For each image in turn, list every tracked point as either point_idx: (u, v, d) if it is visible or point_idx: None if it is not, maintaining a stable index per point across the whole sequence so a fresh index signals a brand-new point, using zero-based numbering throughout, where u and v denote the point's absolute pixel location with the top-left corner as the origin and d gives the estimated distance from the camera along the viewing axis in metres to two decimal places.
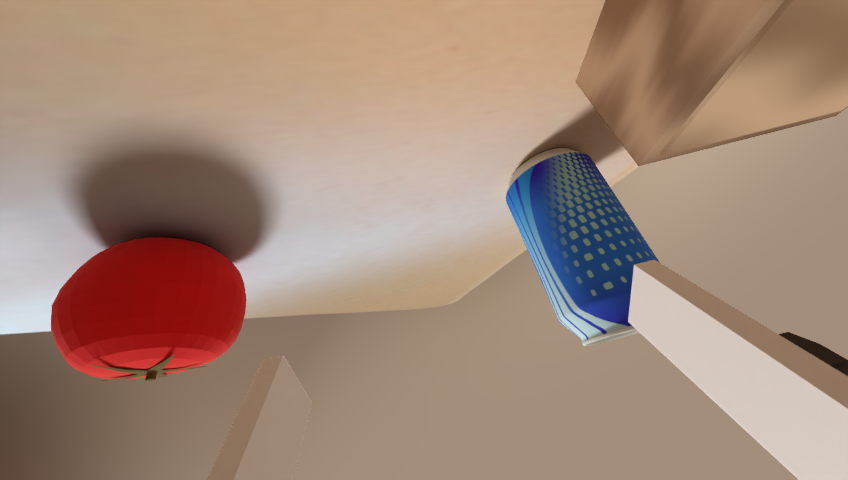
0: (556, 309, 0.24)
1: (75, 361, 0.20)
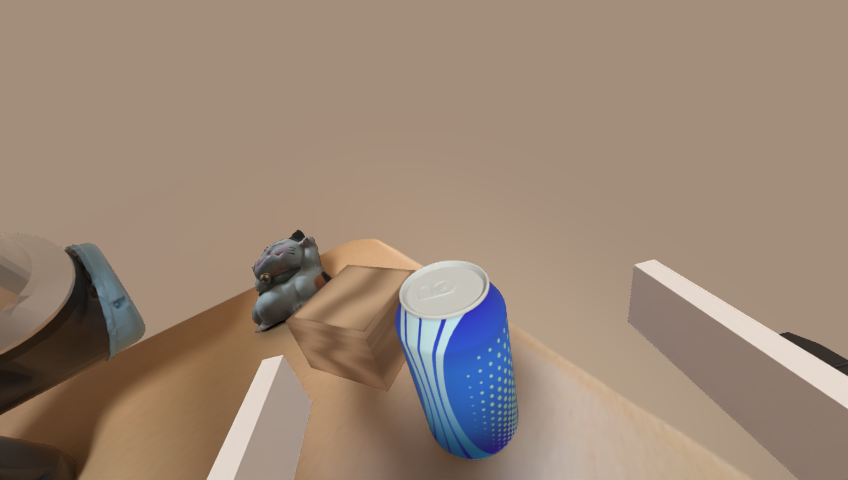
0: (430, 360, 0.20)
1: None
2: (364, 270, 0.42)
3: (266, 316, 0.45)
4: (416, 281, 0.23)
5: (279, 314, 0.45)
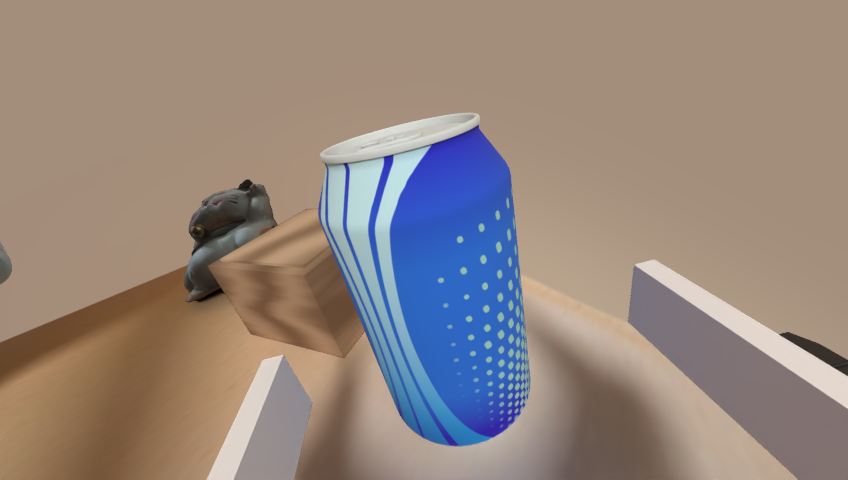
0: (368, 248, 0.10)
1: None
2: None
3: (197, 278, 0.35)
4: (359, 145, 0.14)
5: None
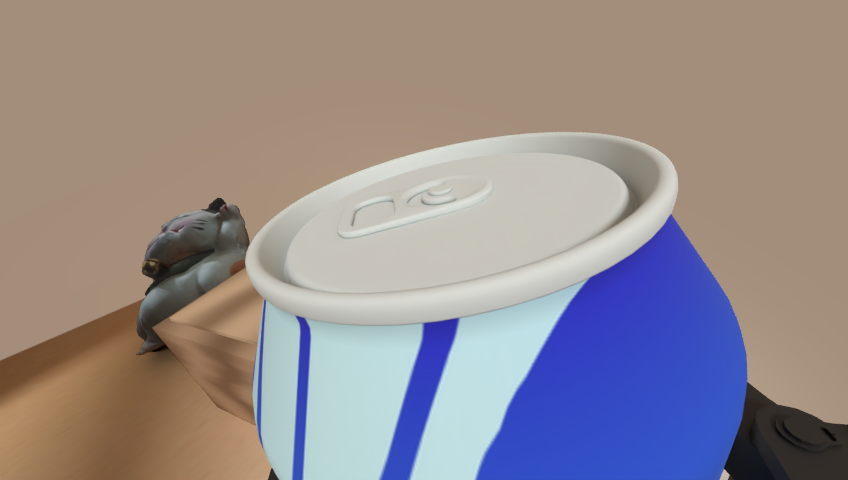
0: None
1: None
2: None
3: (150, 328, 0.28)
4: (351, 196, 0.07)
5: None
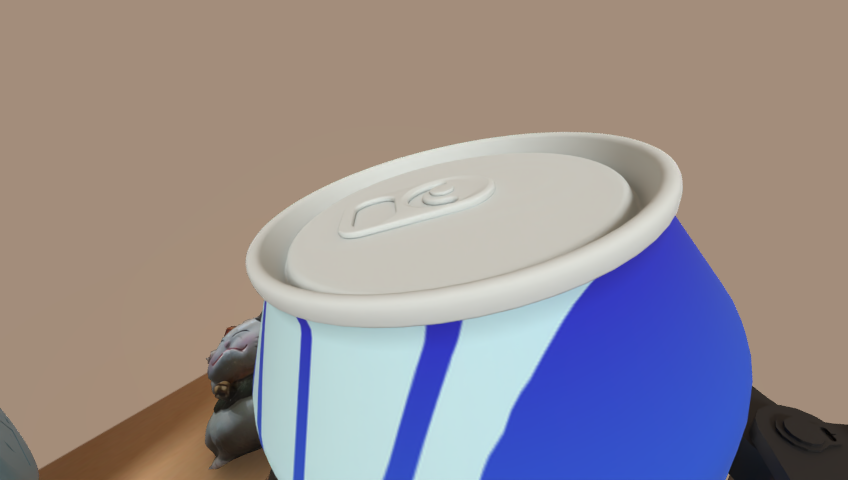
0: None
1: None
2: None
3: (224, 448, 0.31)
4: (352, 196, 0.07)
5: (243, 445, 0.31)
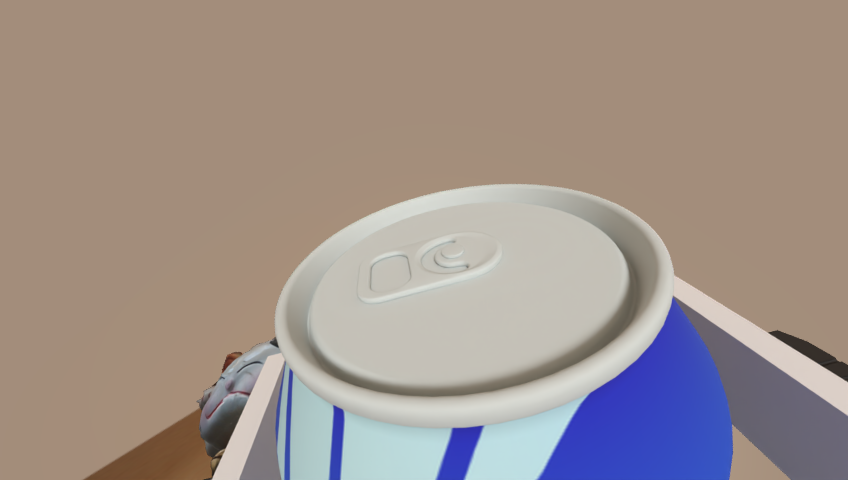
0: None
1: None
2: None
3: None
4: (363, 243, 0.07)
5: None
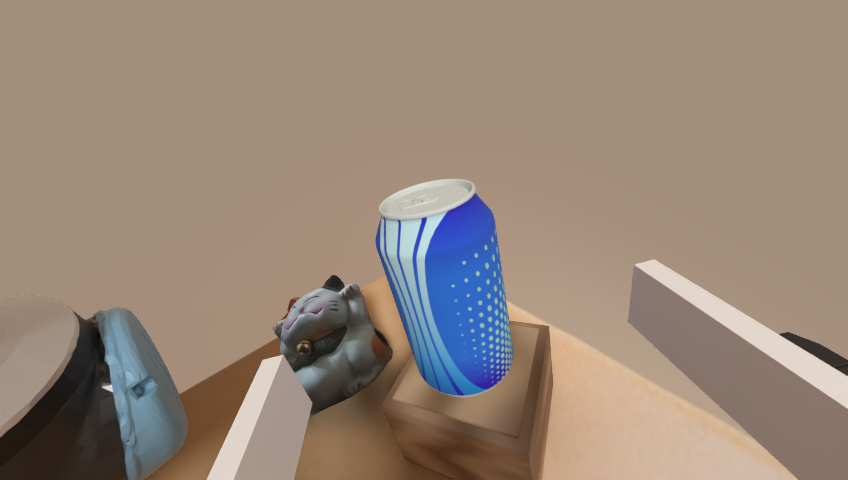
0: (411, 267, 0.18)
1: None
2: None
3: None
4: (398, 199, 0.22)
5: (328, 398, 0.33)
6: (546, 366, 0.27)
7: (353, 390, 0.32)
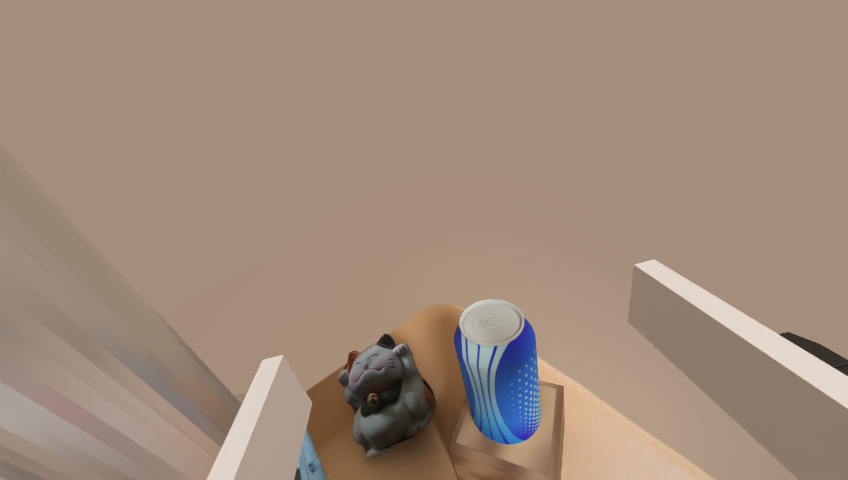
0: (486, 373, 0.29)
1: None
2: None
3: (379, 441, 0.43)
4: (469, 315, 0.33)
5: (394, 438, 0.43)
6: (562, 417, 0.39)
7: (414, 432, 0.42)
